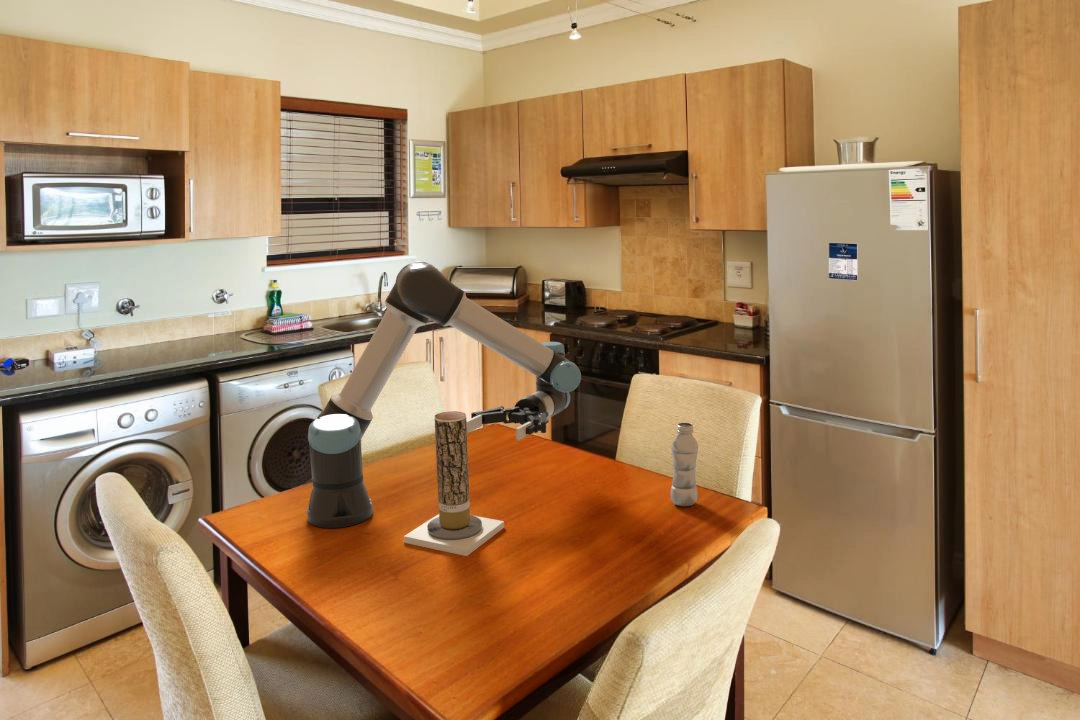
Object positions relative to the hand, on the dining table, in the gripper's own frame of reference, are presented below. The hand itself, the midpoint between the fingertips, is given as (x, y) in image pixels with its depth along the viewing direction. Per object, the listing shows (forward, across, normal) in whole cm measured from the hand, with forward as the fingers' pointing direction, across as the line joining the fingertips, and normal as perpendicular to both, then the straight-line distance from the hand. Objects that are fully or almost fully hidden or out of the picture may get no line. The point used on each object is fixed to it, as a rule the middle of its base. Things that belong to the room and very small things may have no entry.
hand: (491, 430), depth 175 cm
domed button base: (+12, +3, -21) cm, 25 cm away
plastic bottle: (-26, -38, -21) cm, 51 cm away
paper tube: (+12, +3, -19) cm, 23 cm away
